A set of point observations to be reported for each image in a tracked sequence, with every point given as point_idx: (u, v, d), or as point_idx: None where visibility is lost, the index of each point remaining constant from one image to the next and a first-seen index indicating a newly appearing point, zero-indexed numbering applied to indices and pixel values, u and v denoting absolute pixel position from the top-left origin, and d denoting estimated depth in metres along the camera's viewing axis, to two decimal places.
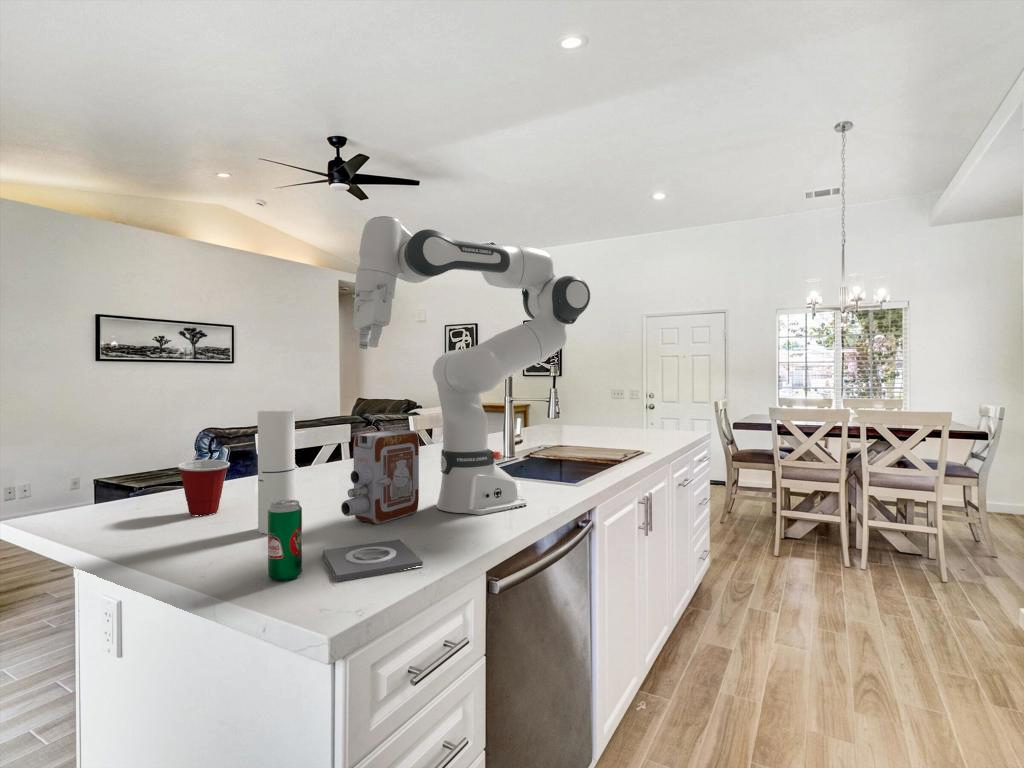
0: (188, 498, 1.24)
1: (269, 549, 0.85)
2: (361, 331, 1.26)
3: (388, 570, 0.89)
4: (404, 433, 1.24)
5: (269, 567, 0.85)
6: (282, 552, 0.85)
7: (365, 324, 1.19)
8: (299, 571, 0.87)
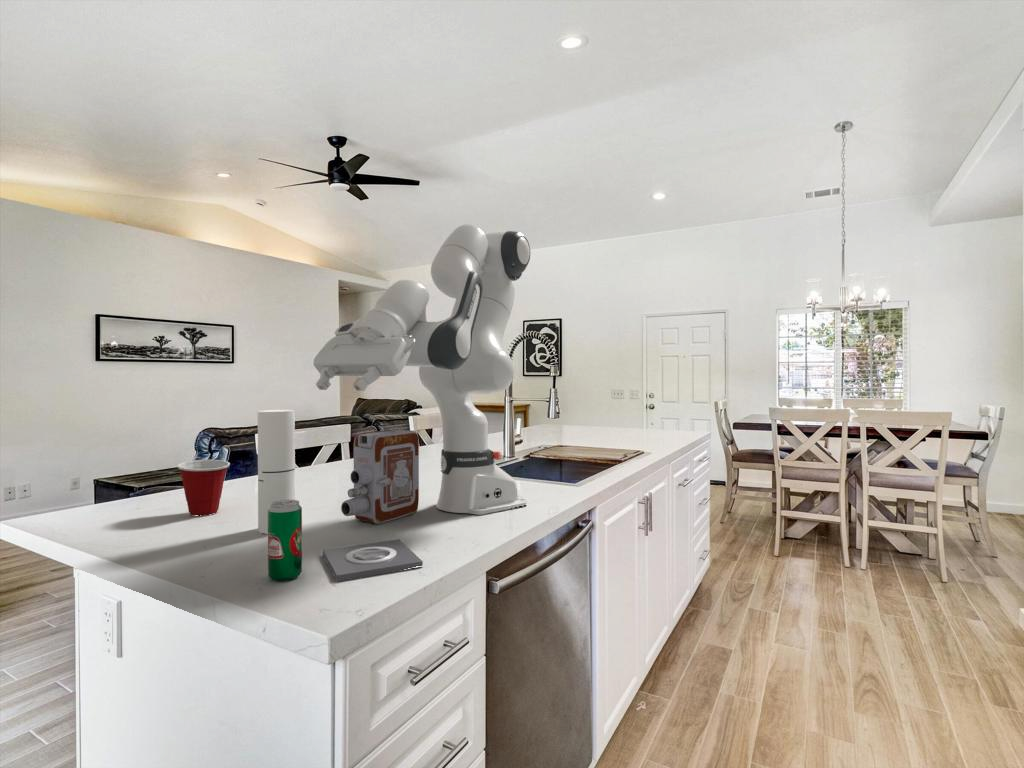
0: (188, 498, 1.24)
1: (269, 549, 0.85)
2: (328, 369, 1.02)
3: (388, 570, 0.89)
4: (404, 433, 1.24)
5: (269, 567, 0.85)
6: (282, 552, 0.85)
7: (358, 362, 0.98)
8: (299, 571, 0.87)
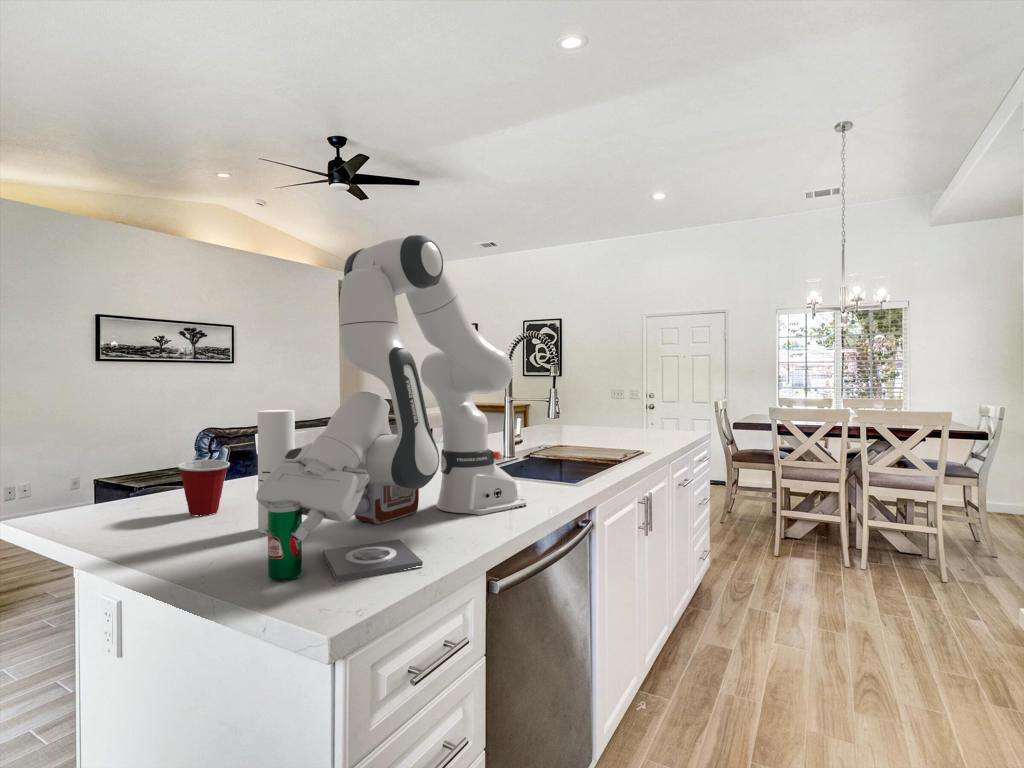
0: (188, 498, 1.24)
1: (269, 549, 0.85)
2: None
3: (388, 570, 0.89)
4: None
5: (269, 567, 0.85)
6: (282, 552, 0.85)
7: (304, 505, 0.87)
8: (299, 571, 0.87)
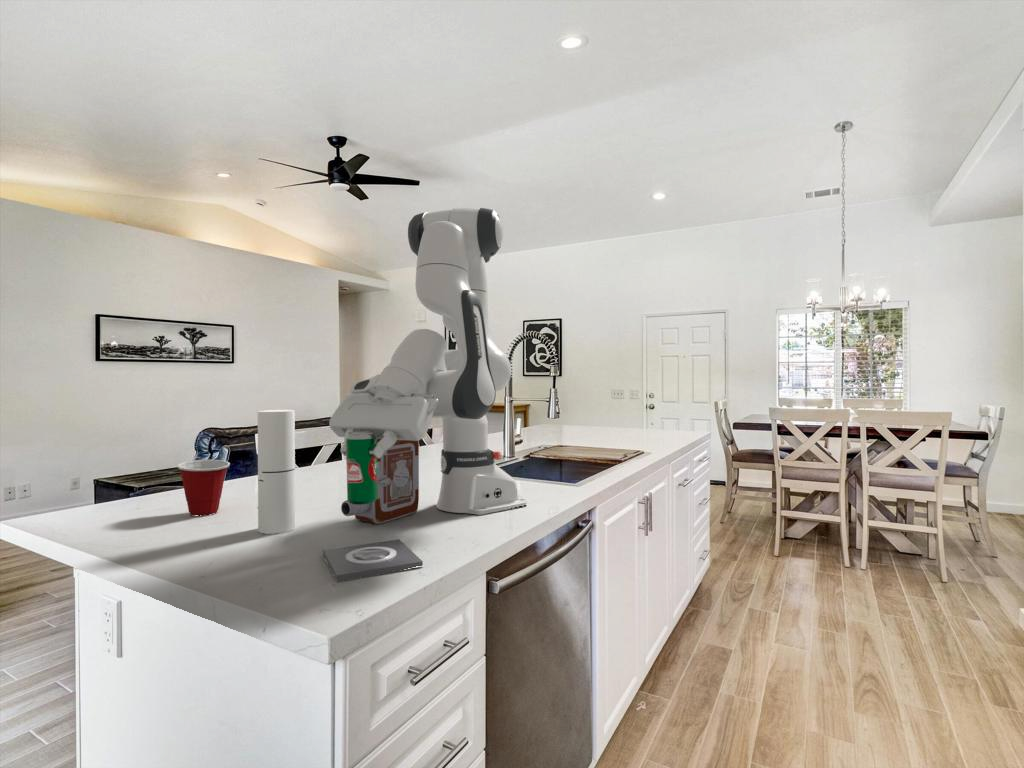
0: (188, 498, 1.24)
1: (349, 474, 0.91)
2: None
3: (388, 570, 0.89)
4: None
5: (349, 491, 0.91)
6: (362, 476, 0.90)
7: (379, 426, 0.93)
8: (376, 495, 0.92)
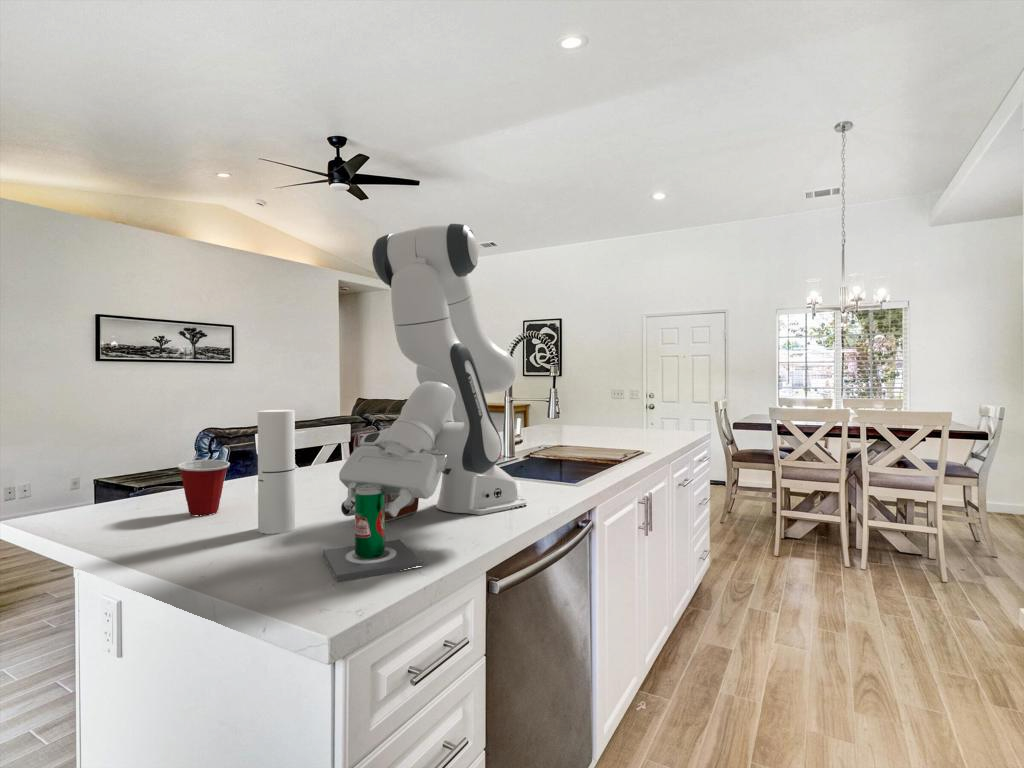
0: (188, 498, 1.24)
1: (357, 528, 0.92)
2: (356, 486, 0.98)
3: (388, 570, 0.89)
4: None
5: (357, 545, 0.92)
6: (370, 531, 0.92)
7: (388, 483, 0.94)
8: (383, 549, 0.94)
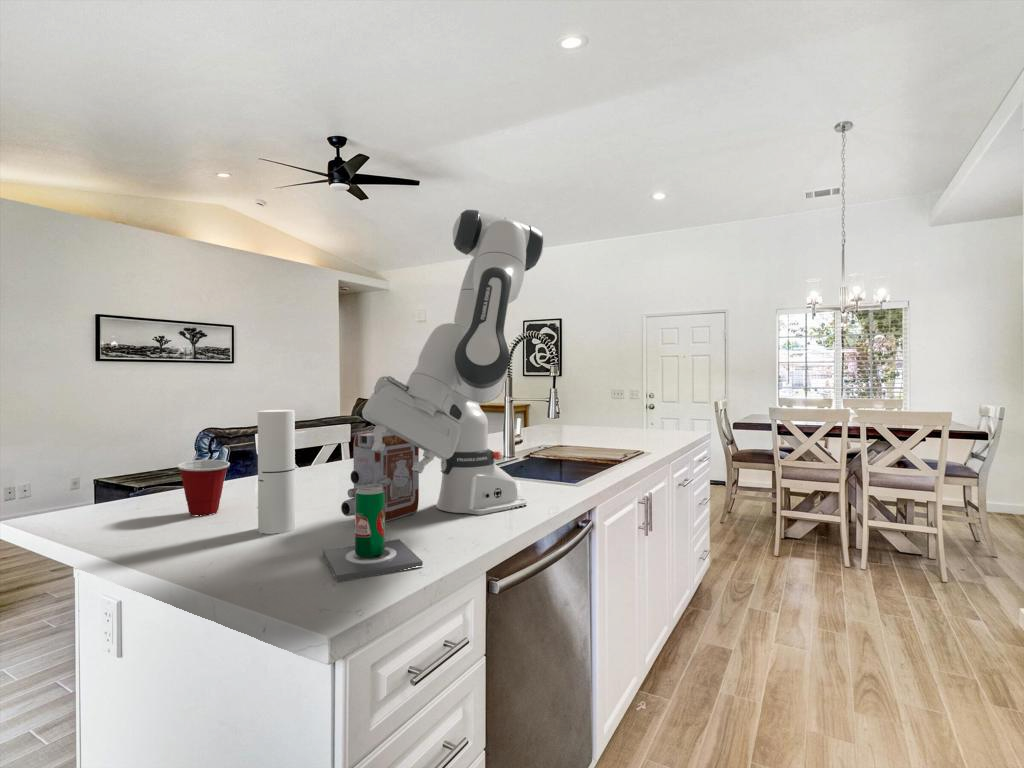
0: (188, 498, 1.24)
1: (357, 528, 0.92)
2: (424, 453, 1.07)
3: (388, 570, 0.89)
4: None
5: (357, 545, 0.92)
6: (370, 531, 0.92)
7: (391, 432, 1.04)
8: (383, 549, 0.94)
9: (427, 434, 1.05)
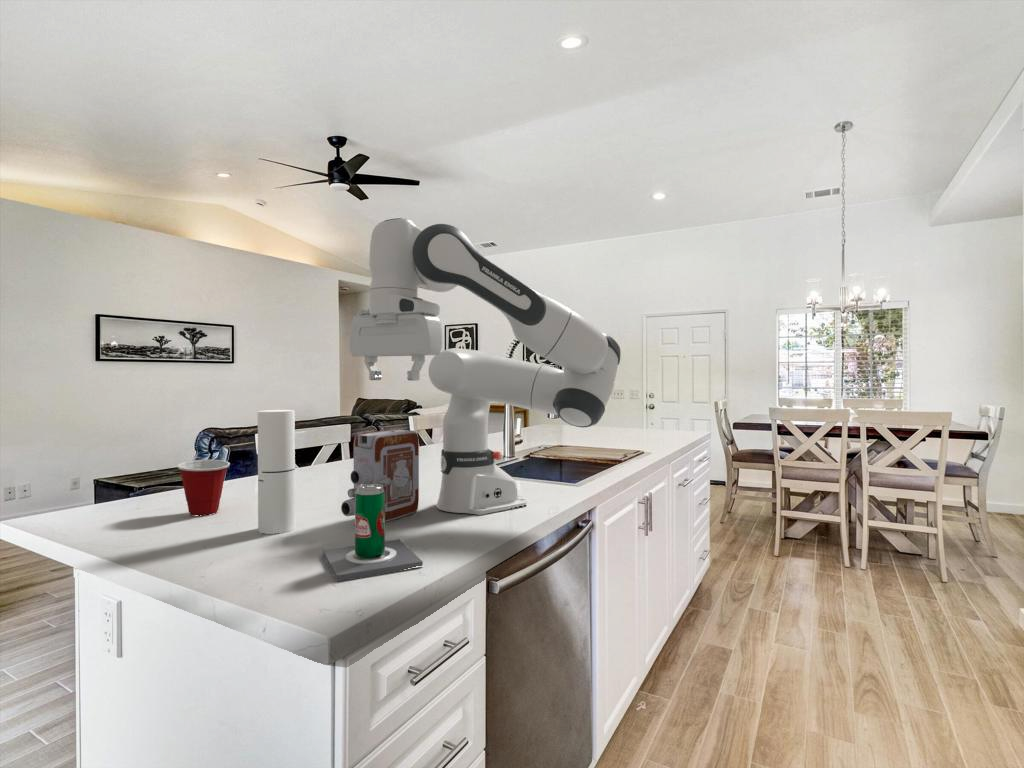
0: (188, 498, 1.24)
1: (357, 528, 0.92)
2: None
3: (388, 570, 0.89)
4: (404, 433, 1.24)
5: (357, 545, 0.92)
6: (370, 531, 0.92)
7: None
8: (383, 549, 0.94)
9: (398, 342, 0.99)
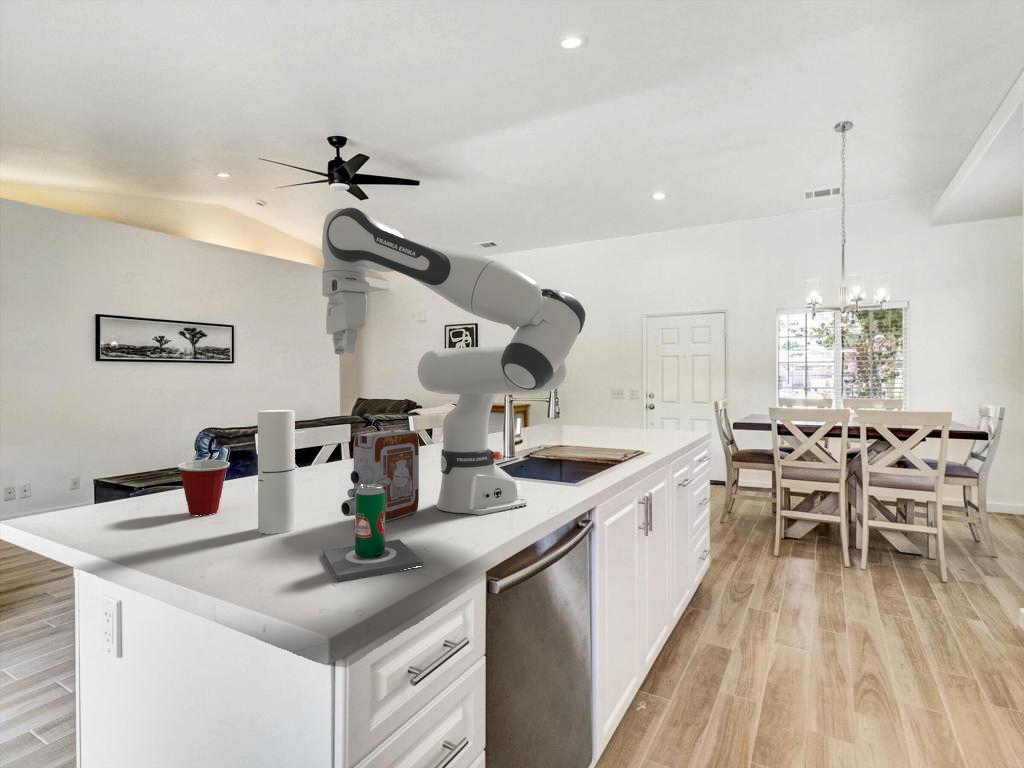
0: (188, 498, 1.24)
1: (358, 528, 0.92)
2: None
3: (388, 570, 0.89)
4: (404, 433, 1.24)
5: (357, 545, 0.92)
6: (370, 531, 0.92)
7: None
8: (383, 549, 0.94)
9: (338, 319, 1.12)
